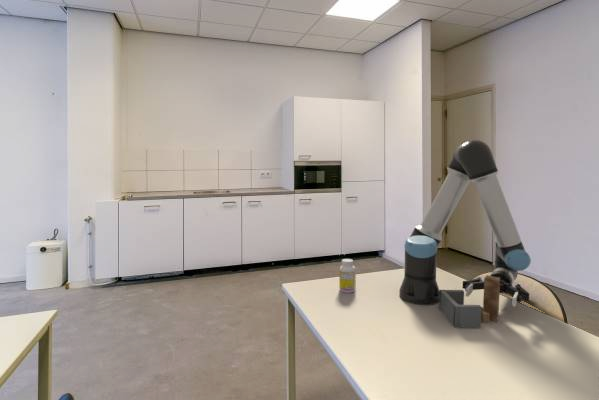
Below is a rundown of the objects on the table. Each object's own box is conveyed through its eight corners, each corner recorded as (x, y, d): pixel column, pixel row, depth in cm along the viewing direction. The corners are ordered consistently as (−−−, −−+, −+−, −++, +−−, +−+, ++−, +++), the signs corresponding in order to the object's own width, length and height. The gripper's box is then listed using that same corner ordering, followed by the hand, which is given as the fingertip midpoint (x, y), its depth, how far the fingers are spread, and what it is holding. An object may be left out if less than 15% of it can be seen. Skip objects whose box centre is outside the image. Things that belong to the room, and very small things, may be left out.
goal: (438, 308, 125) (439, 289, 124) (461, 308, 124) (462, 290, 124) (454, 327, 110) (455, 306, 109) (480, 328, 109) (481, 306, 109)
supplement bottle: (344, 286, 149) (344, 257, 148) (358, 289, 145) (358, 259, 144) (336, 291, 143) (336, 260, 142) (350, 294, 140) (351, 263, 138)
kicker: (469, 319, 116) (471, 278, 114) (474, 312, 121) (476, 273, 120) (494, 325, 111) (496, 283, 110) (498, 317, 117) (500, 277, 115)
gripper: (540, 297, 122) (534, 318, 106) (464, 283, 138) (449, 299, 121) (541, 277, 121) (536, 294, 105) (465, 265, 137) (449, 278, 121)
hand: (489, 297), depth 113 cm, fingers open, 13 cm apart
